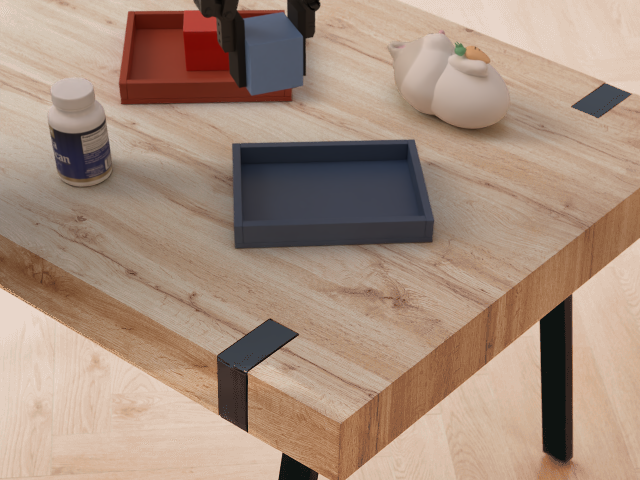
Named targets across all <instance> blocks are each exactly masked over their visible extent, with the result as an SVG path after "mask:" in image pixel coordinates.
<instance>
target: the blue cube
mask: <svg viewBox="0 0 640 480" xmlns="http://www.w3.org/2000/svg"><path fill="white" fill-rule="evenodd" d="M244 22H245V58H246V82H247V87H246V88H247V90H248V91H249V93H250V94H251V95H252V96H253V95H258V94H264V93H269V92H274V91H279V90H284V89H290V88H292V89H295V88H300V87H303V86H304V76H303V36H302V35H301V33H300V32H299V31H298V30H297V29H296V27H295V26H294V25H293V24H292V22H291V21H290V20H289V19H288V17H287V14H286V13H285V14H284V12H280V13H274V14H268V15H262V16H256V17H250V18H244Z"/></svg>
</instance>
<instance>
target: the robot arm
mask: <svg viewBox="0 0 640 480" xmlns="http://www.w3.org/2000/svg"><path fill="white" fill-rule="evenodd" d="M239 1H240V0H193V4H194V5H195V7H196V8H197V10H199V11H200V12H201V14H202V15H203V16H204V17H205V18H210V17H216V24H217V40H218V43H219V45H220V46H221V48H222V49H223V51H224V52H225V53H228V52H229V71H230V75H231V76H232V78H233V79H234V81H235V82H236V84H237V86H238V87H239V88H242V87H247V82H246V58H245V22H244V19H243V18H242V17H241V15H240V14H239V12H238V11H237V10H238V6H239ZM321 7H322V6H321V1H320V0H286V16H287V17H288V19H289V20H290V21H291V22H292V24H293V25H294V26H295V27H296V29H297V30H298V31H299V32H300V33H301V35H302V36H303V77H306V76H307V39H312V38H314V36H315V34H316V12H317V11H319V9H321Z"/></svg>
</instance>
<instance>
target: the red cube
mask: <svg viewBox="0 0 640 480" xmlns="http://www.w3.org/2000/svg"><path fill="white" fill-rule="evenodd" d="M183 11H184V23H183V37H184V50H185V62H186V71H219V70H229V52H228V53H225V52H224V51H223V49H222V48H221V46H220V45H219V43H218V40H217V24H216V17H210V18H205V17H204V16H203V15H202V14H201V12H200V11H199V9H186V10H183Z"/></svg>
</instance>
